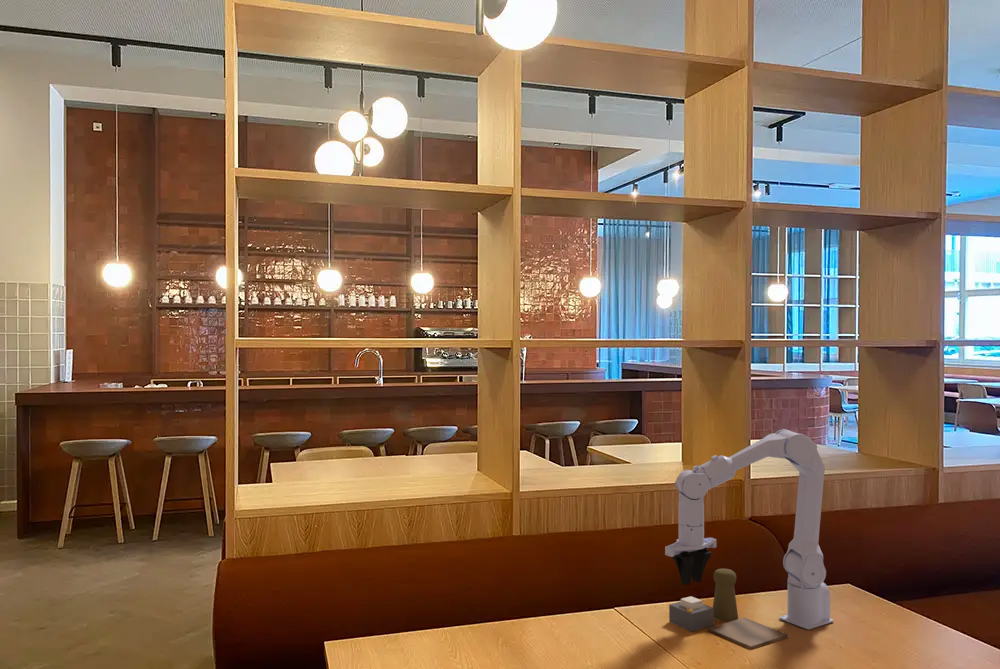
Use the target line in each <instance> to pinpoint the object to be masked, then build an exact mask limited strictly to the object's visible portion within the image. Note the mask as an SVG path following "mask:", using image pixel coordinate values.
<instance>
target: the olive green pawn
mask: <svg viewBox="0 0 1000 669" xmlns="http://www.w3.org/2000/svg"><path fill="white" fill-rule="evenodd" d="M713 581H714V582H715V586H714V588H715V589H714V594H713V595H714V596H713V603H712V607H713V608H714V620H718V621H722V622H723V621H724V622H730V621H734V620H737V619H739V613H738V606H737V599H736V598H737V597H736V592H735V591H736V590H735V584H736V582H737V574H736V572H735V571H733V569H729V568H718V569H716V570H714V572H713Z"/></svg>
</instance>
